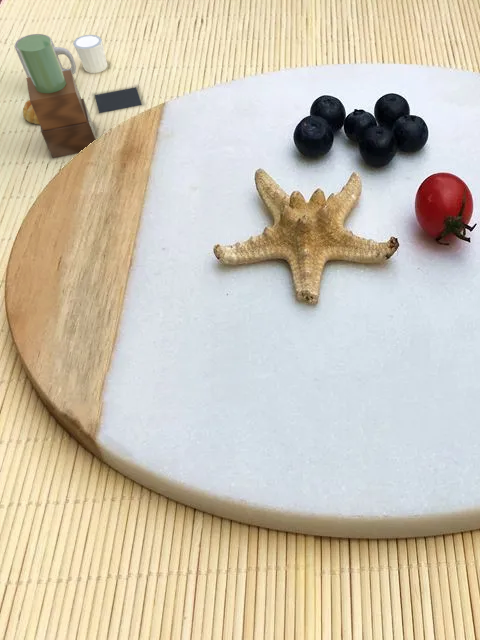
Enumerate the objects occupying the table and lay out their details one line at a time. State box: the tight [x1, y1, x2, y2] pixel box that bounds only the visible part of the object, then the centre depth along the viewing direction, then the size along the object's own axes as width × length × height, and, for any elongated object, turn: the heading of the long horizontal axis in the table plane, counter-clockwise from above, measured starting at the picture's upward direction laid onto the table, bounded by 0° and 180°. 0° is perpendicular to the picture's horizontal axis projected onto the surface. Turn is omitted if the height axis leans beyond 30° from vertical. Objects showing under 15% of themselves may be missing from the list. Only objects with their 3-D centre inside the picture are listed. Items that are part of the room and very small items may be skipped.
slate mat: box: [94, 87, 143, 114], centre depth 163 cm, size 10×8×1 cm
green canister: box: [17, 34, 66, 93], centre depth 138 cm, size 6×6×9 cm
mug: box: [14, 33, 77, 78], centre depth 162 cm, size 12×8×11 cm
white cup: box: [72, 34, 108, 74], centre depth 169 cm, size 7×7×7 cm
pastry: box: [22, 99, 40, 125], centre depth 157 cm, size 9×7×4 cm
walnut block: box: [25, 70, 97, 159], centre depth 148 cm, size 10×10×14 cm
